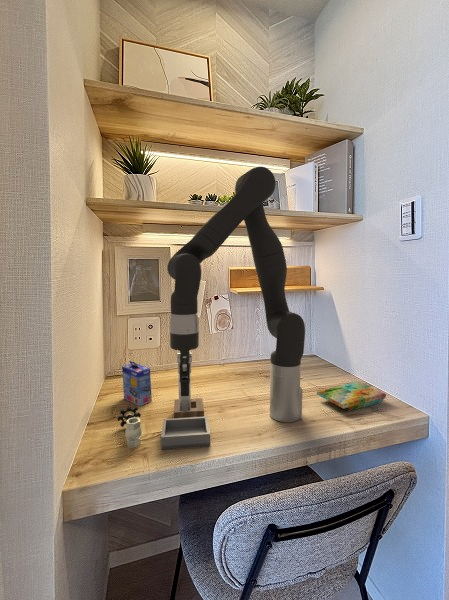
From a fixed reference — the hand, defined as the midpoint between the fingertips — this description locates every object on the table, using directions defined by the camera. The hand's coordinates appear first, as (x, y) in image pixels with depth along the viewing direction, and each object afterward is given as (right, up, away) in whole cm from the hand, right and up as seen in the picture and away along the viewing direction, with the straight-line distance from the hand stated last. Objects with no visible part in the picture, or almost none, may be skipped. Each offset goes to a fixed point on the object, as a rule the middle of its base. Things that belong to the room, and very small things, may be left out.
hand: (184, 392), depth 83 cm
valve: (-15, -13, +2) cm, 20 cm away
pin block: (0, -12, +13) cm, 18 cm away
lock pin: (0, -5, 0) cm, 5 cm away
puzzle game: (+55, -11, +24) cm, 61 cm away
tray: (0, -13, +1) cm, 13 cm away
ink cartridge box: (-20, -11, +26) cm, 34 cm away
